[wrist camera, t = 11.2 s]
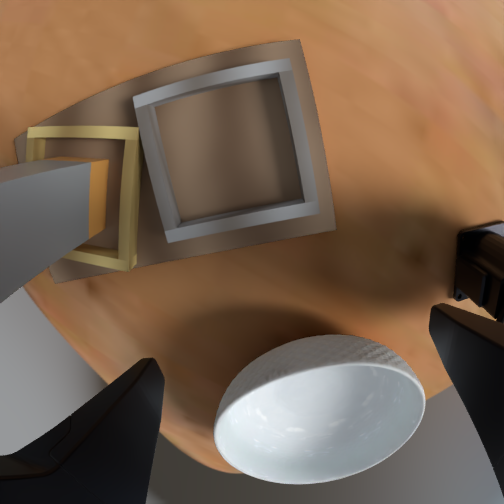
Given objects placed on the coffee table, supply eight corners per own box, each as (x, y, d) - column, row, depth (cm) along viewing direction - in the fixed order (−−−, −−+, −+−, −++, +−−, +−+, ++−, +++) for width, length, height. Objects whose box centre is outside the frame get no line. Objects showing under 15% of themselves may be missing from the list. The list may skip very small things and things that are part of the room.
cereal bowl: (403, 286, 22) (444, 335, 16) (390, 413, 28) (409, 460, 21) (198, 325, 24) (180, 386, 17) (243, 440, 29) (240, 491, 23)
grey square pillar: (109, 159, 18) (-35, 194, 7) (105, 228, 20) (-15, 315, 8) (61, 156, 18) (-76, 189, 6) (59, 220, 20) (-61, 290, 8)
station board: (297, 43, 16) (302, 31, 14) (333, 225, 21) (342, 236, 18) (20, 139, 19) (1, 141, 16) (59, 279, 23) (44, 291, 20)
